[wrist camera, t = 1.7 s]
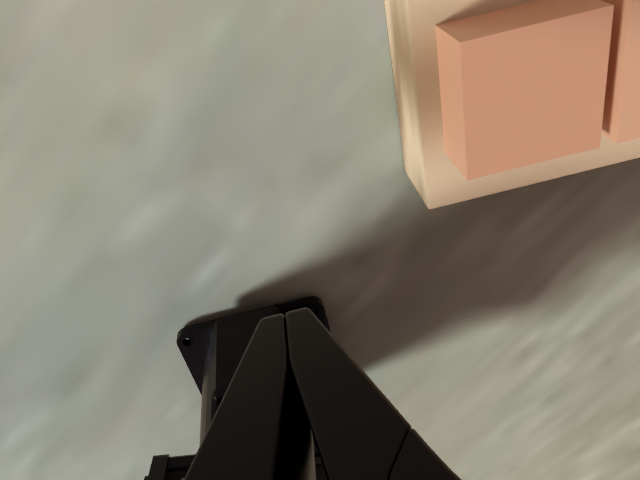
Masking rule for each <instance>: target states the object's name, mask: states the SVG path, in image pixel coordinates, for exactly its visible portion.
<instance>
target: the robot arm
mask: <svg viewBox="0 0 640 480" xmlns="http://www.w3.org/2000/svg"><path fill="white" fill-rule="evenodd" d="M310 307H316V308H315V309H313V310H310V309H309V308H310ZM185 338H192V340H186V339H185ZM177 345H178V347H179V349H180V351H181V353H182V356H183V358H184V360H185V362H186V364H187V366H188V368H189V370H190V372H191V374H192V376H193V378H194V380H195V382H196V384H197V387H198V389H199V391H200V393H201V395H202V406H201V428H200V447H199V449H198V451H197V453H196V454H194V455H184V456H174V457H170V455H169V454H168V455H158V456H153V460H152V464H151V468H150V472H149V476H145V478H144V480H461V479H460V478H459V477H458V476H457V475H456V474H455V473H454V472H453V471H452V470H451V469H450V468H449V467H448V466H447V465H446V464H445V463H444V462H443V461H442V460H441V459H440V458H439V456H438V455H437V454H436V453H435V452H434V451H433V450H432V449H431V448H430V447H429V446H428V445H427V443H426V442H425V441H424V440H423V439H422V438H421V437H420V435H419V434H418V433H417V432H416V431H415V430H414V429H412V428H411V425H410V424H409V423H408V422H407V421H406V420H405V418H404V417H403V416H402V415H401V414H400V413H399V412H398V410H397V409H396V408H395V407H394V406H393V405H392V403H391V402H390V401H389V400H388V399H387V398H386V397H385V395H384V394H383V393H382V392H381V391H380V390H379V388H378V387H377V386H376V385H375V384H374V383H373V382H372V380H371V379H370V378H369V377H368V376H367V375H366V373H365V372H364V371H363V370H362V369H361V368H360V367H359V365H358V364H357V363H356V362H355V361H354V360H353V358H352V357H351V356H350V355H349V354H348V353H347V352H346V350H345V349H344V348H343V347H342V346H341V345H340V343H339V342H338V341H337V340H336V339H335V338H334V337H333V335H332V334H331V332H330V328H329V324H328V320H327V317H326V313H325V309H324V305H323V302H322V300H321V299H320V298H318V297H315V296H311V297H306V298H302V299H298V300H294V301H290V302H286V303H282V304H278V305H274V306H270V307H266V308H262V309H258V310H254V311H250V312H245V313H241V314H237V315H233V316H229V317H225V318H221V319H217V320H213V321H209V322H205V323H201V324H197V325H193V326H189V327H185V328H183V329H181V330H180V331H179V332H178V335H177Z"/></svg>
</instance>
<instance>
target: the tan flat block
mask: <svg viewBox="0 0 640 480" xmlns="http://www.w3.org/2000/svg"><path fill="white" fill-rule="evenodd" d="M532 1H536V0H384V3H385V11H386V19H387V27H388V35H389V43H390V51H391V60H392V68H393V76H394V84H395V92H396V100H397V108H398V116H399V125H400V133H401V141H402V149H403V157H404V165H405V172H406V173H407V175H408V177H409V178H410V180H411V181H412V183H413V185H414V186H415V188H416V190H417V191H418V193H419V194H420V196H421V198H422V199H423V201H424V202H425V204H426V206H427V207H428V209H429V210H430V209H434V208H438V207H442V206H446V205H450V204H454V203H458V202H462V201H466V200H470V199H474V198H478V197H482V196H486V195H490V194H494V193H498V192H502V191H506V190H510V189H514V188H518V187H522V186H527V185H531V184H535V183H539V182H543V181H547V180H551V179H555V178H559V177H563V176H567V175H571V174H575V173H579V172H583V171H587V170H591V169H595V168H599V167H603V166H607V165H611V164H615V163H619V162H623V161H628V160H632V159H636V158H640V138H637V139H633V140H629V141H625V142H621V143H617V144H616V143H615V142H613V141H612V140H610V139H609V138H607V137H606V136H604V135H603V134H601V141H600V148H597V149H593V150H589V151H585V152H580V153H576V154H572V155H568V156H564V157H560V158H556V159H552V160H548V161H544V162H540V163H536V164H532V165H528V166H524V167H520V168H516V169H512V170H508V171H504V172H500V173H496V174H491V175H487V176H483V177H479V178H475V179H471V180H467V179H466V178H465V177H464V176H463V174H462V173H461V172H460V171H459V169H458V168H457V167H456V166H455V164H454V163H453V162H452V161H451V159H450V158H449V157H448V156H447V155H446V153H445V149H444V135H443V122H442V109H441V96H440V82H439V69H438V56H437V43H436V29H435V25H438V24H442V23H446V22H450V21H454V20H458V19H462V18H466V17H471V16H475V15H479V14H483V13H487V12H491V11H495V10H499V9H503V8H507V7H511V6H516V5H520V4H524V3H528V2H532Z"/></svg>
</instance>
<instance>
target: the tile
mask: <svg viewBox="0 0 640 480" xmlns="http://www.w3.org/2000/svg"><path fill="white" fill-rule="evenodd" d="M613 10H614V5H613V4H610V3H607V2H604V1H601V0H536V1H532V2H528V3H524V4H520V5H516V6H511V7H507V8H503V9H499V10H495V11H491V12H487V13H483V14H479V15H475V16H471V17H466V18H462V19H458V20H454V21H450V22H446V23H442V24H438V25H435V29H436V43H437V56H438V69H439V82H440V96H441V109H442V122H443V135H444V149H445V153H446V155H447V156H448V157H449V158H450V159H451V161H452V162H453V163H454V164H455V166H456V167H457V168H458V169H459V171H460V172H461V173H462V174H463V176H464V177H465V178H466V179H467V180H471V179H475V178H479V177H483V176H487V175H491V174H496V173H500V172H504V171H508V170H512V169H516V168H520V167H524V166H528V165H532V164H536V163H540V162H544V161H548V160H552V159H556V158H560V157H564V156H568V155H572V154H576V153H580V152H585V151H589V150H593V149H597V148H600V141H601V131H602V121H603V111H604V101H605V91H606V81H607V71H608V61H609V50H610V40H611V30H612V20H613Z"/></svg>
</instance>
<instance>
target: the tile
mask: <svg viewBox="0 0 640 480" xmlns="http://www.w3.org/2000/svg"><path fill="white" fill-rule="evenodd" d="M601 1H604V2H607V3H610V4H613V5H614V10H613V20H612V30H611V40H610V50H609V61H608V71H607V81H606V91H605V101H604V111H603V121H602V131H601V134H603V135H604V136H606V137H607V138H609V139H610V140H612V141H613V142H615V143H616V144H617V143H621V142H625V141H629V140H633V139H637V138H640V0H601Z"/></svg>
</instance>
